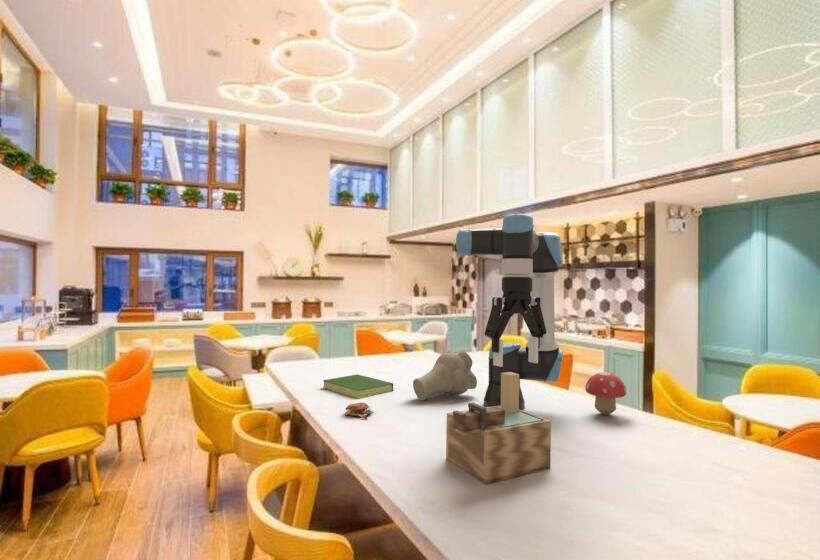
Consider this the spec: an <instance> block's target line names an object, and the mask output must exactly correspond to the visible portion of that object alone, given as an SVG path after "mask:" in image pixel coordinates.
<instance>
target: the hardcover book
mask: <svg viewBox="0 0 820 560" xmlns="http://www.w3.org/2000/svg"><path fill="white" fill-rule="evenodd" d="M322 381H323V388H324V387H325V388H324V389H326V388H328V389H327V390H329V389H331V390H330V391H333V390H334V391H333V392H336V391H337V392H336V393H339V392H340V394H342V395H346V396H349V397H354V398H355V399H360V398H361V399H362V398H365V397H369V396H375V394H376V395H379V394H385V393H389V392H393V391H394V383H393V382H390V381H386V380H381V379H377V378H373V377H370V376H366V375H365V376H364V375H361V374H352V375H346V376H345V375H344V376H339V377H334V378H329V379H323V380H322ZM384 392H385V393H384Z"/></svg>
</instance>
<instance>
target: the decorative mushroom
mask: <svg viewBox="0 0 820 560" xmlns="http://www.w3.org/2000/svg"><path fill="white" fill-rule="evenodd" d="M584 389H585V392H586V393H588V395H591V396H595V400H594V409H596V410H597V411H598V412H599V413H600V414H601V415H611V414H613V413H614V412H615V411H617V403H616V402H617V401H616V399H619V398H623V397H625V396H626V395H627V389H626V385H625V383H624V382H623V381H622V379H621V378H620V377H618V375H616V374H614V373H612V372H608V371H600V372H596V373H594V374H593V375H591V376H590V377H589V378H588V380H587V382H586V383H585V388H584Z"/></svg>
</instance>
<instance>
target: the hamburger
mask: <svg viewBox="0 0 820 560" xmlns="http://www.w3.org/2000/svg"><path fill="white" fill-rule="evenodd" d="M373 413H374V411H373V410H372V407H371V406H370V405H369V404H368V403H367V402H357V403H350V404H348V405H347V407H345V416H347V415H349V416H350V417H360V418H361V419H360V420H361V421H362V420H364V421H368V420H369V417H367V415H370V414H373Z"/></svg>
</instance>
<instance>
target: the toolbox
mask: <svg viewBox="0 0 820 560" xmlns="http://www.w3.org/2000/svg"><path fill="white" fill-rule="evenodd" d="M498 407H501V405H499V406H492V407H486V406H484V405H480V404H477V403H475V402H467V408H468V409H465V410H458V411H459V412H462V413H466V412H473V411H478V412H480V428H474V429H468V430H465V431H459V430H457V429H455V428H453V411H452V412H447V413H446V432H445V434H446V437H445V439H446V440H445V441H446V442H445V459H446V460H447V461H448V462H450V463H451V464H453V465H455V466H457V467H458V468H460V470H463V472H466V473H467V474H469V475H471V476H472V477H474V478H475V479H476V480H478V481H480V482H482V483H483V484H484V485H490V484H493V483H498V482H502V481H506V480H510V479H515V478H518V477H522V476H523V477H524V476H527V475H531V474H534V473H535V474H536V473H539V472H543V471H547V470H551V455H552V454H551V447H552V446H551V445H552V437H551V436H552V420H550V419H548V418H545V417H542V416H539V415H536V414H535V413H534V414H533V413H532V412H528V411H526V410H523V409H519V412H522V413H525V414H527V415H530V416H533V417H535V418H538V419H541V420H542V421H538V422H532V423H527V424H521V425H515V426H510V427H504V428H500V427H498V426H496V425H491V426H486V409H491V408H498Z"/></svg>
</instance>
